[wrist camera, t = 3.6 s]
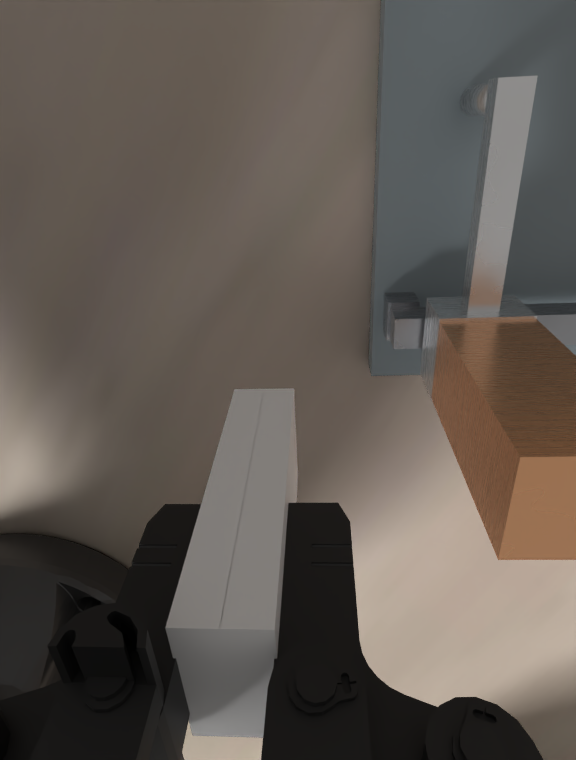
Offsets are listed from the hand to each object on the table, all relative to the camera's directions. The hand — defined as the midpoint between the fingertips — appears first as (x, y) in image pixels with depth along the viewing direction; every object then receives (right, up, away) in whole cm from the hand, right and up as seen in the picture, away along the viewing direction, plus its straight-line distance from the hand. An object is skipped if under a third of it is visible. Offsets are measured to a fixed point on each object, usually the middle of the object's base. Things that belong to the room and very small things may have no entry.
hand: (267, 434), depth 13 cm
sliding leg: (+7, +7, +6) cm, 11 cm away
